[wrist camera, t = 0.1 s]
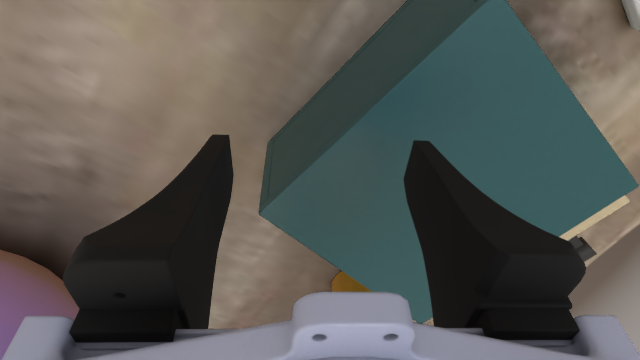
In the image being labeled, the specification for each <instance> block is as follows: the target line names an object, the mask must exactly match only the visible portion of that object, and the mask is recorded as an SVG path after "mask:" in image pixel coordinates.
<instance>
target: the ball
mask: <svg viewBox="0 0 640 360" xmlns="http://www.w3.org/2000/svg"><path fill="white" fill-rule="evenodd" d="M78 311H79V307H78V306H77V304H76V303H75V301H74V300H73V298H72V296H71V295H70V293H69V292H68V290H67V289H66V287H65V285H64V282H63V281H62V280H61V279H60V278H59V277H57V276H56V275H55V274H54V273H52V272H51V271H50V270H49V269H47V268H45V267H43V266H41V265H39V264H37V263H35V262H33V261H31V260H29V259H27V258H25V257H23V256H20V255H16V254H13V253H9V252H6V251H2V250H0V360H2V358H3V356H4V354H5V352H6V351H7V349H8V347H9V345H10V343H11V341H12V340H13V338H14V336H15V334H16V332H17V331H18V329H19V327H20V325H21V323H22V321H23V320H24V318H25V317H27V316H67V317H70V318H72V319H74V320H75V318H76V316H77V314H78Z"/></svg>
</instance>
